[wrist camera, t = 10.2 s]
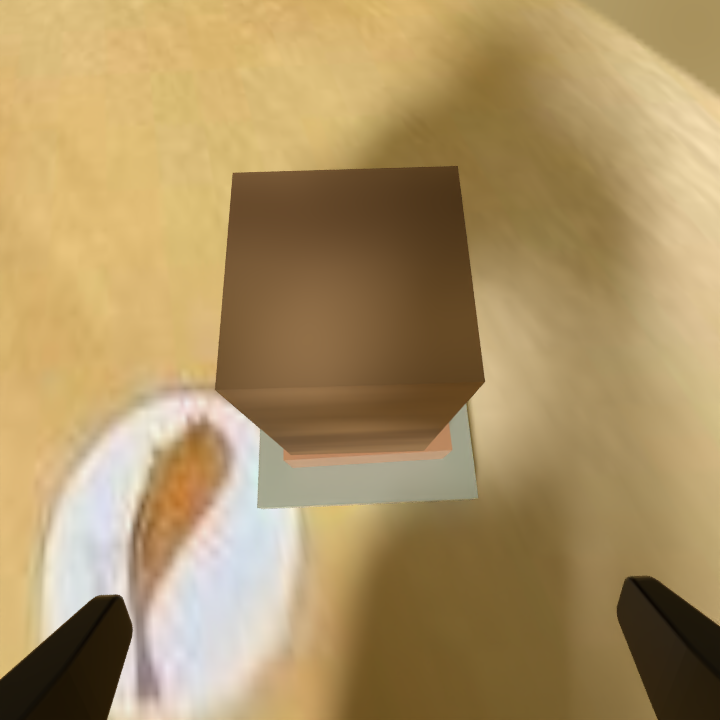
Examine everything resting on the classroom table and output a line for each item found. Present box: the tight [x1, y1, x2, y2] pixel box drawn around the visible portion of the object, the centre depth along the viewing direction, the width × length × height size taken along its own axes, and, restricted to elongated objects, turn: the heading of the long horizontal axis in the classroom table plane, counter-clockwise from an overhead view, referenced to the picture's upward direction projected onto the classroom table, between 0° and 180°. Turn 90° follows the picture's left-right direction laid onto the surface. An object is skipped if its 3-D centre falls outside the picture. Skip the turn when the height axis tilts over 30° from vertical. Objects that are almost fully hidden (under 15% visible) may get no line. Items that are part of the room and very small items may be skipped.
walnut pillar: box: [215, 166, 485, 455], centre depth 15 cm, size 6×6×10 cm
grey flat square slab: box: [257, 404, 478, 509], centre depth 23 cm, size 10×10×2 cm
